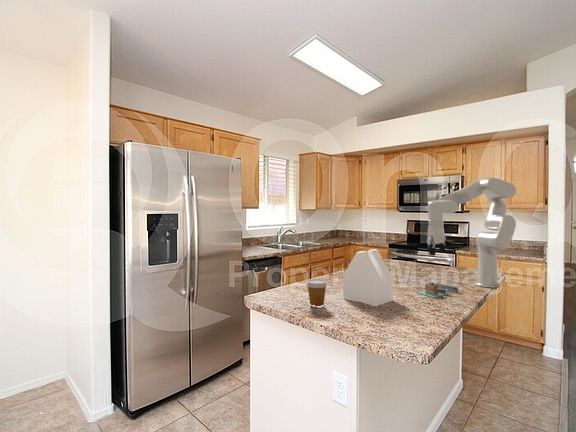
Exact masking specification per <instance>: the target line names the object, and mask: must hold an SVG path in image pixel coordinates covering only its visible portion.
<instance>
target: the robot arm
mask: <svg viewBox="0 0 576 432" xmlns="http://www.w3.org/2000/svg"><path fill="white" fill-rule="evenodd" d="M483 194H485V197H486V198H487V200H488V202H489V207H488V208H489V209H488V211H487V215H486V217H485V221H484V228H485V229H487V230H489V231H481V232H479V233H478V234H477V235H476V239H475V242H476V243H475V244H476V247H477V281H475V282H474V285H476V286H478V287H483V288H489V287H490V288H493V289H494V288H495V289H496V288H501V283H499V282H498V281H500V278H499V277H498V253H497V251H496V250H498V251H499V250H500V251H503V250H506V249H507V248H509V247H510V246H511V245H510V244H511V243H512V239H513V237H514V233H515V230H516V227H517V222H516V218H514V216H513V215H510V214H506V212H507V210H508V207H507V203H506V201H505V200H504V199H512V198H513V197H514V196H516V194H517V187H516V186H515V185H514V183H511V182H508V181H506V180H503V179H500V178H497V177H485V178H483V177H481V178H478V179H475V180H474V181H472V182H471V183H469V184H467V185H465V186H464V187H462V188H460V189H458V190H455V191H454V192H450V193H448V194H446V195H444V196H442V197H440V198H438V199H437V200H434V201H428V203H427V215H428V226H427V227H428V228H427V239H426V242H427V246H428V247H427V248H428V251H429V255H430V256H436V247H435V246H436V245H438V249H439V250H438V251H439V253H442V254H443V253H446V243H447V237H446V236H445V235H446V234H445V227H444V214H454V213H456V212H457V211H458V210H459V205H460V204H466V203H469V202H472V201H473V200H474V199H476V198H478V197H480V196H481V195H483ZM494 231H495V232H494ZM490 288H489V289H490Z"/></svg>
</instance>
